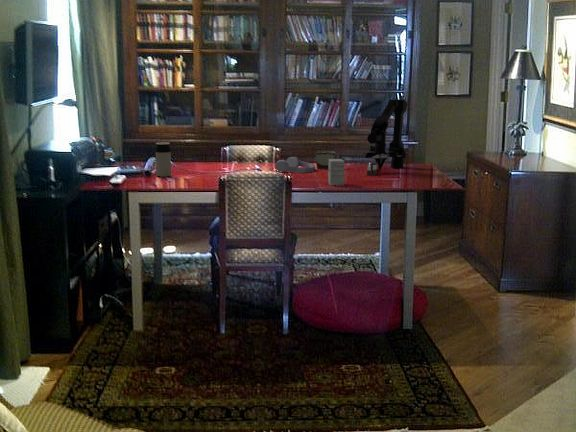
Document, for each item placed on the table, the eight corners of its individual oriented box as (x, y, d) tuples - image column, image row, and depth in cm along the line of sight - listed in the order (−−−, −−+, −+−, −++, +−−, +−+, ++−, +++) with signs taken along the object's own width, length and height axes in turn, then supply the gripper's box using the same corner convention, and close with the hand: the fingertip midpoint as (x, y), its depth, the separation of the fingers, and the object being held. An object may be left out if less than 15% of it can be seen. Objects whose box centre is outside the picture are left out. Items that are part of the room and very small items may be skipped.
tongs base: (367, 168, 465) (367, 162, 464) (375, 168, 465) (375, 162, 464) (367, 175, 438) (367, 168, 437) (375, 175, 437) (375, 169, 436)
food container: (336, 167, 466) (336, 150, 464) (335, 169, 460) (336, 152, 458) (315, 167, 467) (315, 150, 465) (314, 169, 461) (314, 151, 459)
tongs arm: (372, 168, 460) (372, 164, 460) (376, 168, 460) (376, 164, 459) (372, 174, 437) (372, 170, 436) (376, 175, 436) (376, 170, 436)
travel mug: (168, 177, 429) (167, 143, 425) (154, 176, 430) (153, 143, 427) (173, 175, 437) (172, 142, 433) (159, 174, 438) (158, 141, 435)
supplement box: (327, 183, 410) (328, 159, 408) (342, 183, 411) (342, 158, 409) (329, 185, 403) (330, 160, 401) (344, 185, 404) (344, 160, 401)
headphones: (273, 172, 450) (306, 176, 442) (274, 159, 448) (307, 163, 441) (288, 167, 470) (320, 171, 463) (288, 155, 468) (320, 159, 461)
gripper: (391, 140, 455) (390, 167, 458) (359, 141, 451) (359, 168, 454) (398, 142, 444) (397, 170, 447) (366, 143, 440) (365, 171, 443)
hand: (379, 169), depth 448 cm, fingers closed
